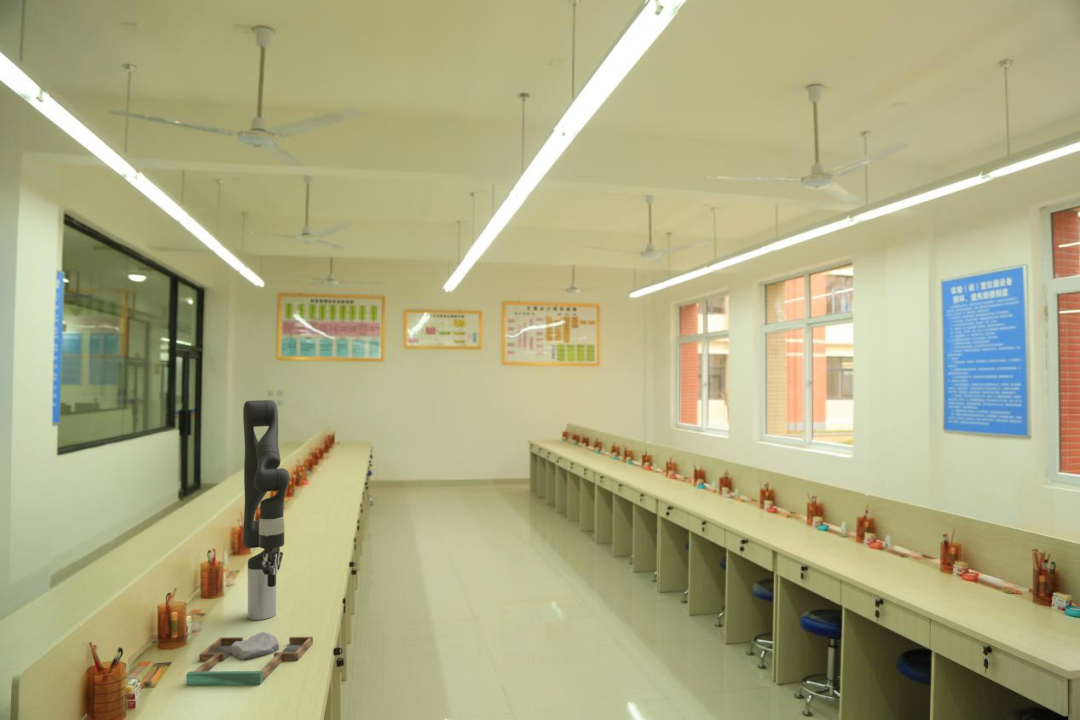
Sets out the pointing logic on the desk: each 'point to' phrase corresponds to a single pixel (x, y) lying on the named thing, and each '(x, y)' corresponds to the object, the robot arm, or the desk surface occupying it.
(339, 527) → the desk surface
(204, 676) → the trap lane
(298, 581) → the desk surface
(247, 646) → the stone block
